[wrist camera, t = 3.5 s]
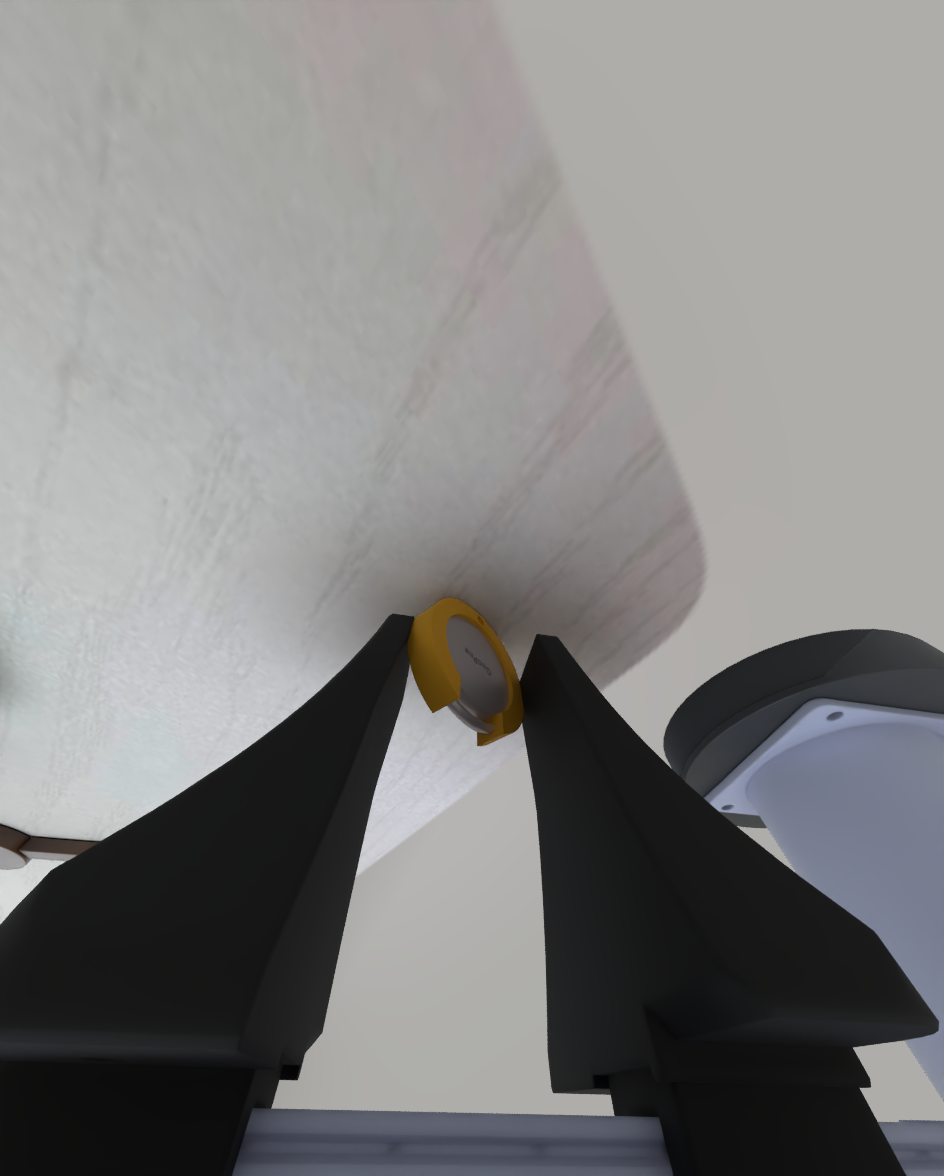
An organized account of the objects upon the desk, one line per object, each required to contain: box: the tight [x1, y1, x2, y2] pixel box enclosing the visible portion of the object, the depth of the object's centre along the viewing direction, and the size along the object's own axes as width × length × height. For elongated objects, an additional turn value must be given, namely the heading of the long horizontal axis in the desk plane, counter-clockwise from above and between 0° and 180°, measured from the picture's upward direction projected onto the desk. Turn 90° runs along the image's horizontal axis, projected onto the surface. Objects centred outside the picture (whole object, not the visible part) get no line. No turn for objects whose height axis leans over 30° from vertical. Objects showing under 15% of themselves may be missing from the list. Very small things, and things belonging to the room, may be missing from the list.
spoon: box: [0, 825, 99, 870], centre depth 21 cm, size 20×5×1 cm, turn 80°
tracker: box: [408, 598, 524, 746], centre depth 9 cm, size 4×1×4 cm, turn 39°
